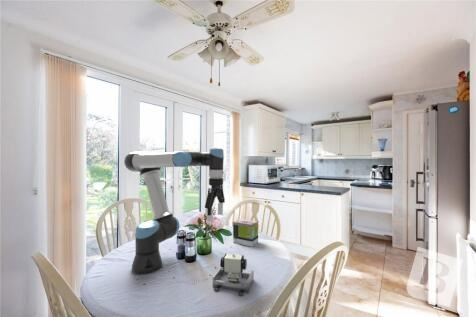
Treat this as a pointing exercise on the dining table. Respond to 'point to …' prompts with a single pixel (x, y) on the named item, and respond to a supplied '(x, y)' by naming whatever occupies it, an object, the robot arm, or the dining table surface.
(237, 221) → the tea box
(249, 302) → the dining table surface
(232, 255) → the pneumatic valve
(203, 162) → the robot arm
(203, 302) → the dining table surface
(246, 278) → the wheeled cart
